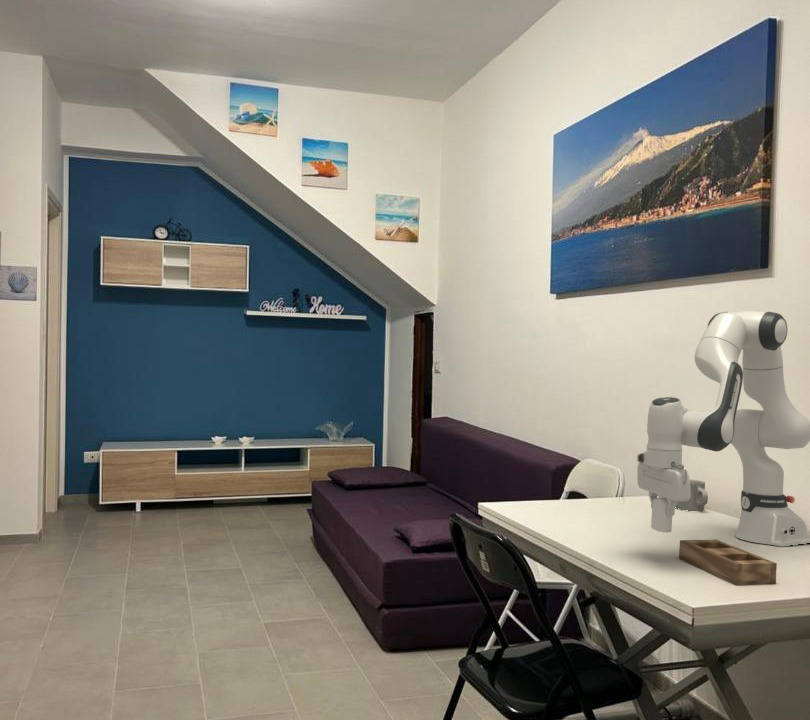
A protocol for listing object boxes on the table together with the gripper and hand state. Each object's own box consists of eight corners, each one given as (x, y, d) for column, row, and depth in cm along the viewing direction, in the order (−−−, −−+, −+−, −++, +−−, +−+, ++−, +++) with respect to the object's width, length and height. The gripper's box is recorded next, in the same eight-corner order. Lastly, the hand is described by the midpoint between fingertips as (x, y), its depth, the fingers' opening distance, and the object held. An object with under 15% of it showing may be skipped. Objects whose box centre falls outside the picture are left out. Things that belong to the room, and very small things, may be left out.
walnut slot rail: (715, 557, 213) (716, 539, 213) (775, 583, 190) (776, 563, 190) (679, 558, 211) (679, 540, 211) (735, 585, 187) (736, 564, 187)
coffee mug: (669, 506, 288) (670, 478, 288) (694, 506, 289) (695, 479, 289) (688, 513, 275) (689, 485, 275) (714, 513, 276) (715, 485, 276)
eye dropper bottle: (666, 527, 209) (669, 483, 209) (672, 533, 204) (675, 487, 203) (649, 527, 209) (652, 482, 209) (655, 532, 204) (658, 486, 203)
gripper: (697, 465, 197) (696, 520, 197) (654, 454, 217) (653, 504, 217) (675, 466, 195) (673, 521, 195) (633, 454, 215) (632, 504, 215)
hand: (662, 512), depth 206 cm, fingers closed on eye dropper bottle, 6 cm apart
